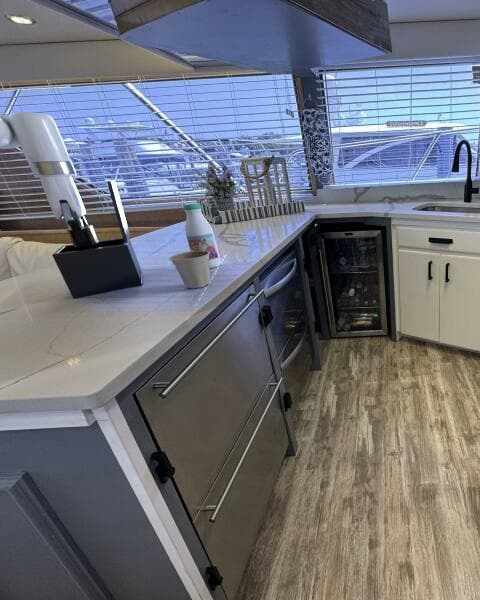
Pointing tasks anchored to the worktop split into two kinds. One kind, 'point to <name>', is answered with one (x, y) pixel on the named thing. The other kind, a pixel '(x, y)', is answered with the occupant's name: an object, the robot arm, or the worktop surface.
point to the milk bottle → (200, 234)
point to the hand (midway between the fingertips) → (85, 243)
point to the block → (91, 234)
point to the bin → (99, 267)
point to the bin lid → (119, 210)
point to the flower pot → (193, 268)
